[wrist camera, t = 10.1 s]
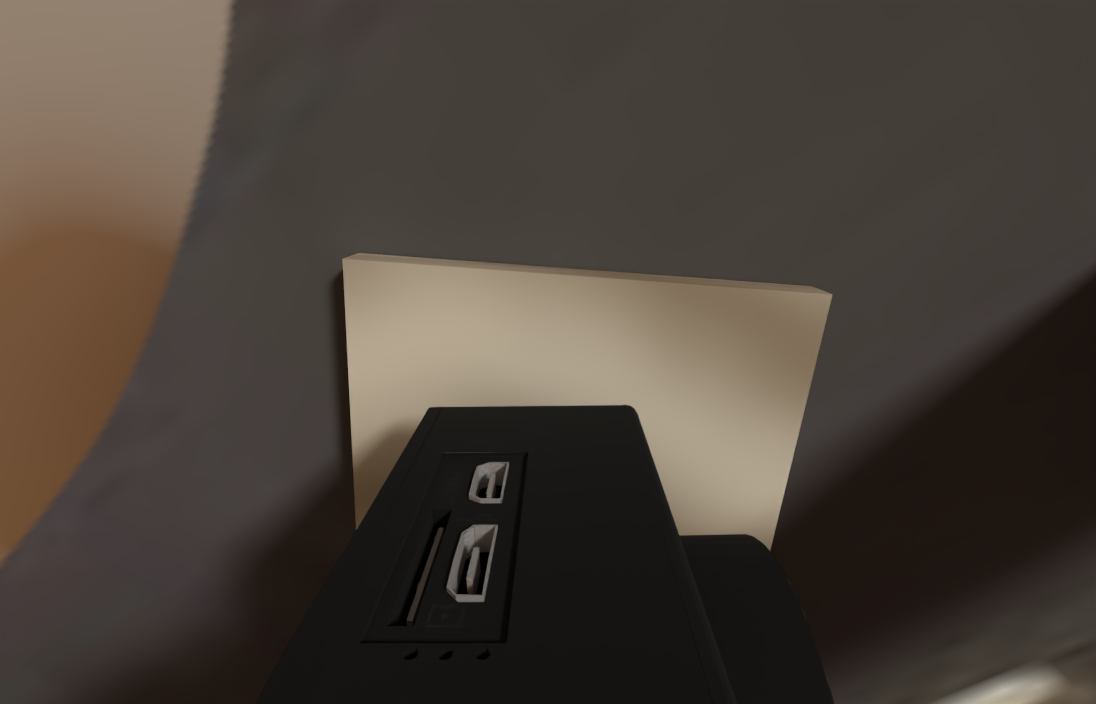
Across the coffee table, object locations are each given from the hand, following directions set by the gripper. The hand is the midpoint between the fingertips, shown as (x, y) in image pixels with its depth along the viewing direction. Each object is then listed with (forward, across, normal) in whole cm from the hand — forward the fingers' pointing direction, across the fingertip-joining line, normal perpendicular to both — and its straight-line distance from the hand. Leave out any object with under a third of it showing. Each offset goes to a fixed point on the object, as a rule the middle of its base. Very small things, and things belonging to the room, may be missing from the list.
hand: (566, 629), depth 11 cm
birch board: (+4, 0, 0) cm, 4 cm away
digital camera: (+1, 0, 0) cm, 1 cm away
